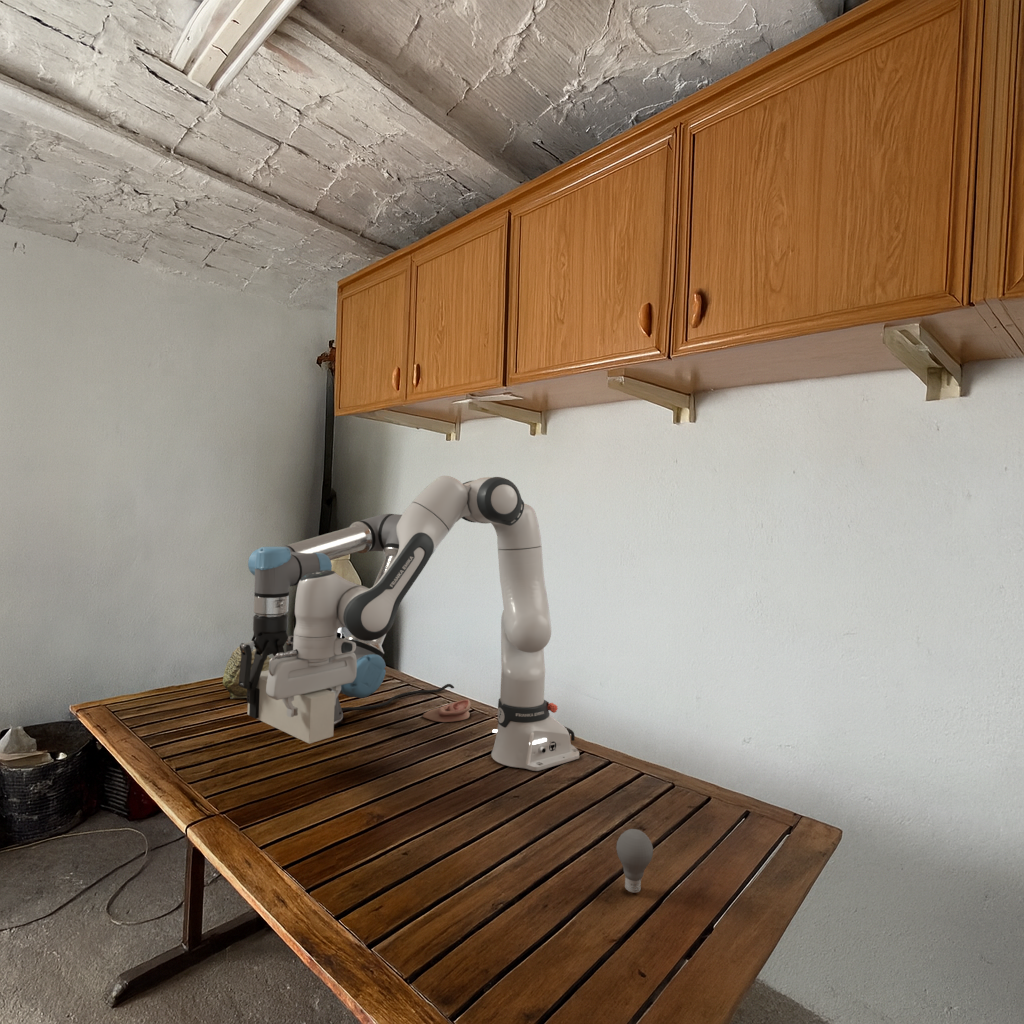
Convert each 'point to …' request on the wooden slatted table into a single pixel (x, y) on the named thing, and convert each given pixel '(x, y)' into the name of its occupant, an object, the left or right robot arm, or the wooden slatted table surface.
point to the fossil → (233, 674)
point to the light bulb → (634, 857)
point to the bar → (311, 717)
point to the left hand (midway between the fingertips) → (267, 713)
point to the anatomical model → (450, 712)
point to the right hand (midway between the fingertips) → (311, 711)
